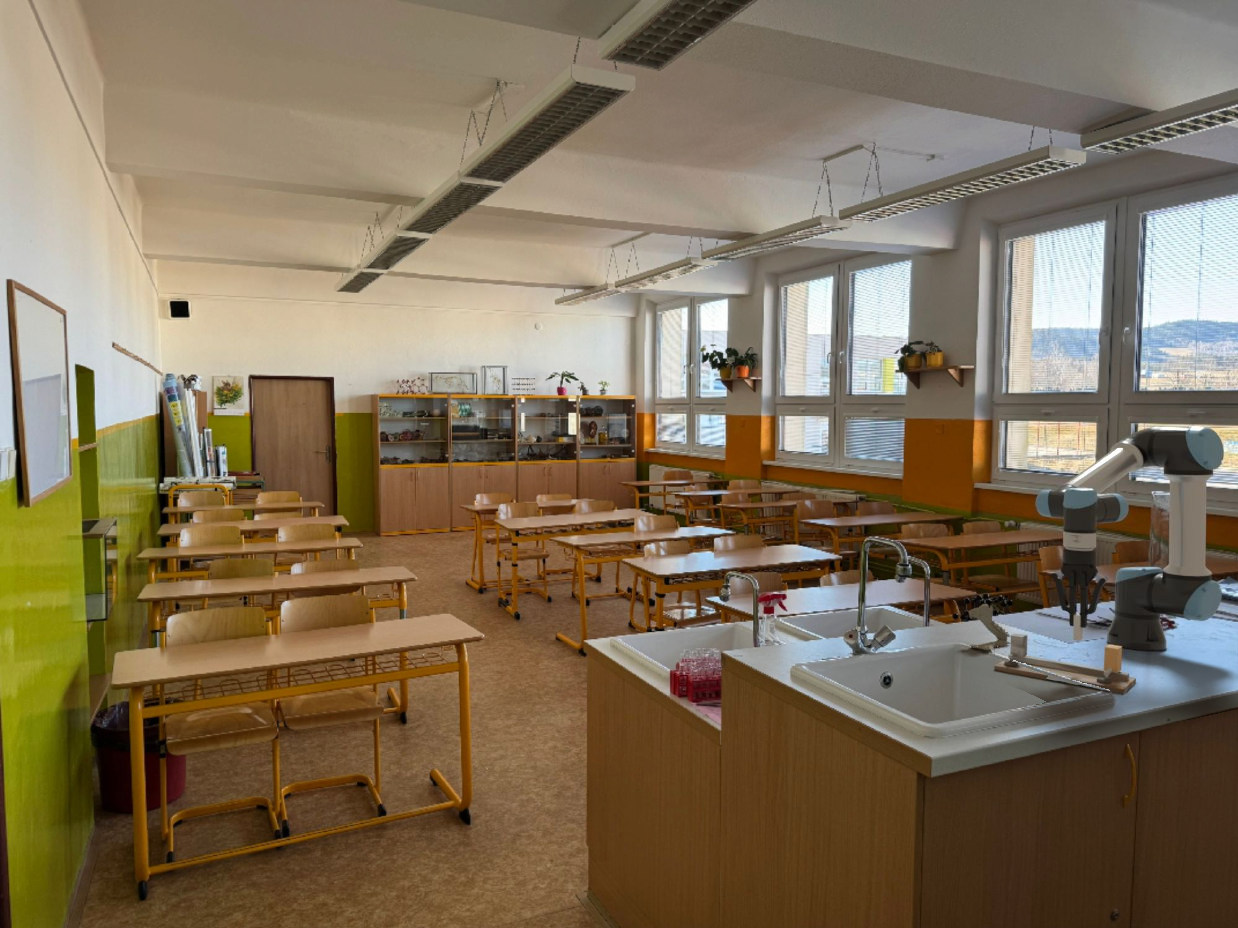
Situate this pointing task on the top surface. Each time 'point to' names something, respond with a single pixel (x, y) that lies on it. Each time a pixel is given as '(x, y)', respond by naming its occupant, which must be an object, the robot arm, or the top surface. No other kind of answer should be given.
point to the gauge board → (1069, 674)
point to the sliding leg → (1112, 659)
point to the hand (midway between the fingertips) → (1077, 639)
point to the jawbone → (989, 627)
